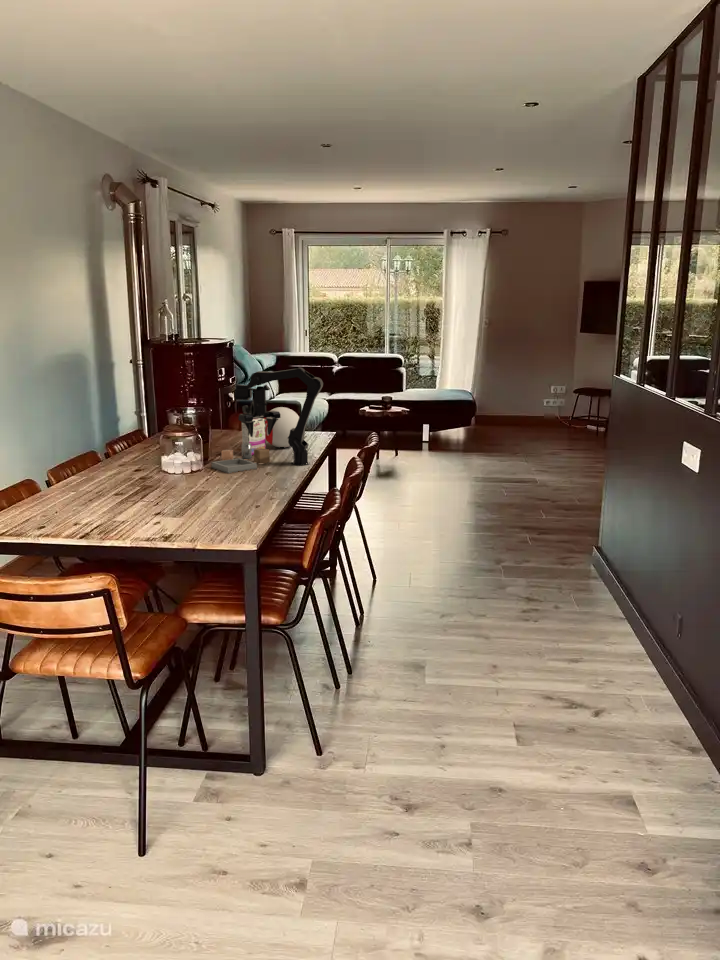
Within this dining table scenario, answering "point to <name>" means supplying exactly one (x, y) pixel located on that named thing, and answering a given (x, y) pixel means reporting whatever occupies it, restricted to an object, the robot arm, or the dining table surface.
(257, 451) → the walnut block
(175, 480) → the dining table surface
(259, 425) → the candy bar box
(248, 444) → the steel cylinder
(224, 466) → the charcoal tray
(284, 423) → the decorative sphere
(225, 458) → the tan block
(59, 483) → the dining table surface
